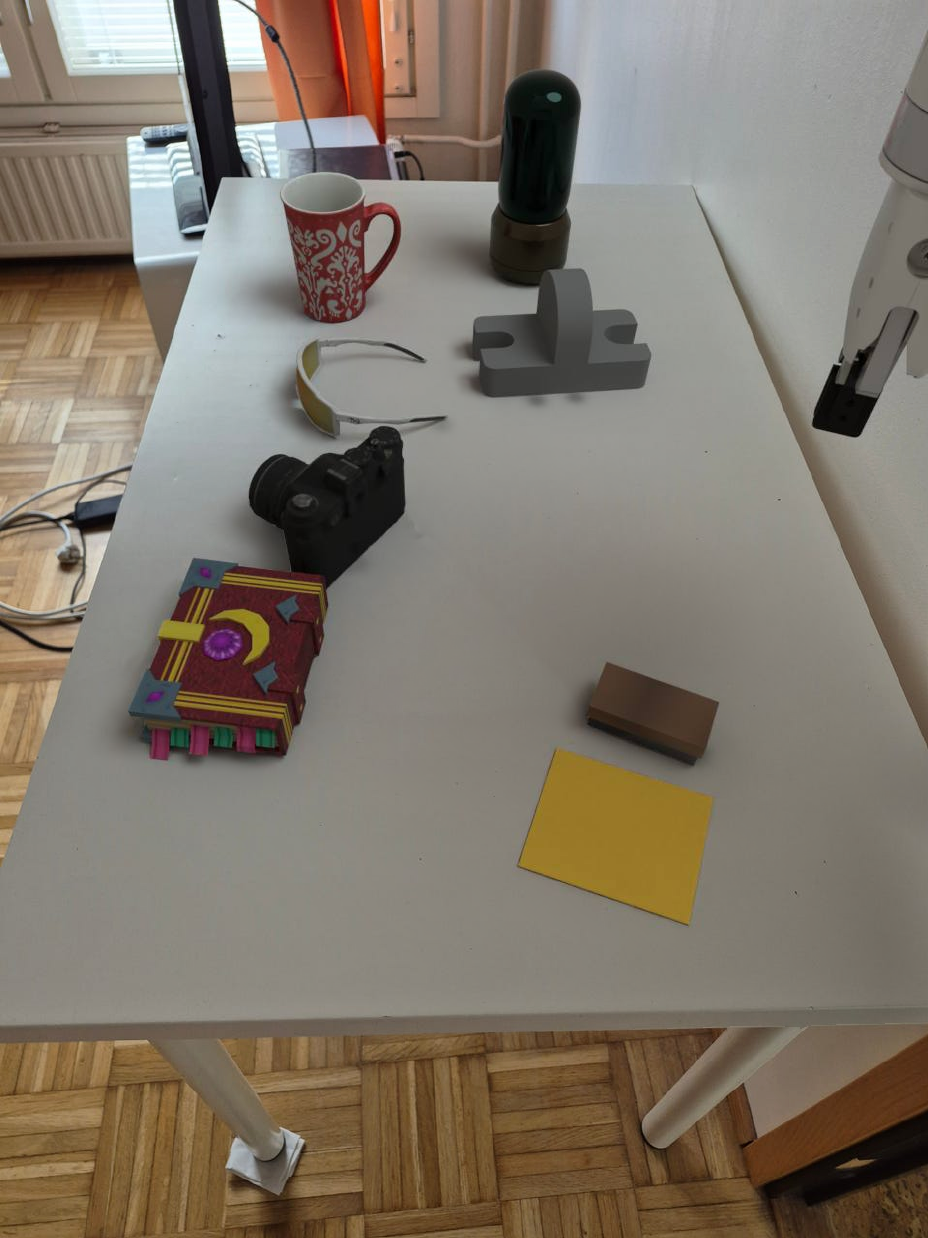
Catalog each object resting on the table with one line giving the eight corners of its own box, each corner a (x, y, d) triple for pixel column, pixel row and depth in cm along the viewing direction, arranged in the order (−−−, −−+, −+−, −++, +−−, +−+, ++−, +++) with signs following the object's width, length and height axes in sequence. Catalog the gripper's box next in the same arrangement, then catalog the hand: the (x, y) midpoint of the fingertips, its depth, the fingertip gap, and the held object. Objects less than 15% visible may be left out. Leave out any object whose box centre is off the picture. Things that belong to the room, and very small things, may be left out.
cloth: (712, 798, 65) (713, 797, 65) (688, 925, 59) (689, 924, 59) (556, 749, 68) (556, 747, 67) (517, 866, 62) (518, 865, 61)
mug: (293, 329, 101) (277, 212, 90) (295, 285, 106) (281, 171, 96) (404, 327, 102) (402, 211, 91) (400, 283, 107) (398, 170, 97)
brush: (709, 722, 69) (719, 701, 67) (695, 769, 67) (705, 748, 64) (600, 683, 71) (606, 661, 69) (583, 726, 69) (588, 705, 66)
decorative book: (332, 607, 75) (327, 568, 71) (286, 775, 65) (277, 740, 61) (202, 592, 76) (190, 553, 72) (136, 756, 66) (118, 720, 62)
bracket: (647, 387, 96) (668, 297, 88) (483, 398, 94) (489, 306, 86) (625, 336, 102) (643, 247, 93) (470, 344, 100) (474, 254, 91)
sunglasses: (286, 365, 96) (287, 324, 92) (420, 365, 100) (426, 326, 97) (304, 450, 87) (306, 409, 84) (450, 446, 92) (458, 407, 88)
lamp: (556, 247, 114) (579, 55, 97) (572, 287, 108) (599, 91, 91) (483, 249, 113) (493, 56, 96) (494, 291, 107) (507, 92, 90)
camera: (333, 464, 87) (323, 378, 79) (419, 510, 83) (419, 426, 75) (231, 547, 79) (209, 462, 72) (321, 602, 76) (309, 519, 68)
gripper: (1052, 223, 40) (887, 513, 54) (1034, 98, 49) (896, 375, 63) (882, 192, 42) (765, 482, 56) (895, 76, 50) (791, 352, 65)
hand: (835, 425), depth 60 cm, fingers closed
